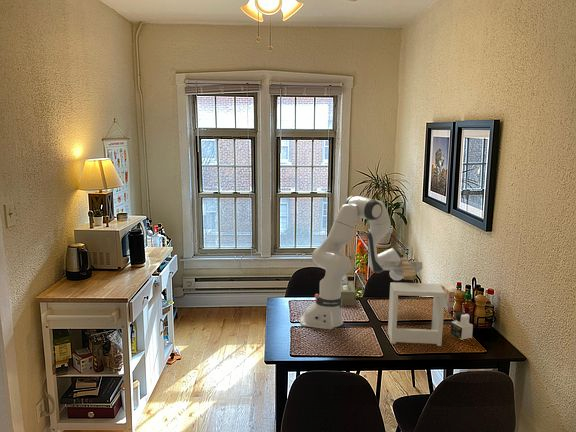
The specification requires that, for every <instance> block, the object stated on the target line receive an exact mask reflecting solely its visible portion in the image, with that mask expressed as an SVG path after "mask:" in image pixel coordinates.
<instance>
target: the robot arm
mask: <svg viewBox="0 0 576 432" xmlns="http://www.w3.org/2000/svg"><path fill="white" fill-rule="evenodd" d="M358 219H362V220H363V219H364V220H368V222H369V228H368V229H369V230H368V232H367V233H366V244H367V252H368V253H367V254H368V267H369V268H370V269H369V270H371V272H373V273H376V274H380V273H382V272H384V271H389V277H390V278H391V279H392V280H393V281H401V280H402V279H403V280H404V278H403V275H402V274H403V271H402V266H401V264H402V261H401V258H404V257H403V254H402V253H401V252H400V251H399V250H398V249H397V248H395V247H391V248H388V249H386V250H384V251H383V252H380V253H378V251H377V250H378V249H377V244H378V243H379V241H380V240H381V239H382V238H384V237H385V236H386V235H387V234H388V233H389V231H390V230H391V228H392V227H391V226H392V223H391V219H390V214H389V212H388V209H387V207H386V205H385V203H384V202H383V201H381V200H378V199H377V200H376V199H372V198H370V197H369V198H368V197H366V196H362V195H361V196H360V195H359V196H358V195H350V196H348V197H347V199H346V200H345V202H344V204H342V206H340V208H339V210H338V212H337V213H336V216H335V219H334V221H333V223H332V226H331V229H330V231H329V233H328V235H327V237H326V238H325V240H324V241H323V242H322V243H321V244H320V245H319V246H318V247H316V248H315V249H314V250H313V252H312V253H311V258H312V261H313V263H314V264H315V265H316V266H318V267H319V268H321V269H323V270H324V271H325V275H324V277H323V278H322V279H321V280H319V293H315V294H314V298H315V302H314V303H312V304H310V305H309V306H307V308H306V309H305V310H304V314H302V315H301V317H300V318H299V323H300V325H301V326H303V327H309V328H315V329H322V330H333V329H335V328H338V327H340V326H342V325H343V324H344V320H343V314H342V306H343V305H342V297H341V284H342V282H343V280H342V279H343V277H344V275H345V274H346V275H347V274H348V273H349V272H350V270H351V268H352V261H351V258H350V257H348V256H347V255H346V254H345V253H343V252H341V250H342V248H343V247H344V246H346V245H348V244H349V243H350V241H351V238H352V236H353V233H354V231H355V228H356V225H357V221H358ZM408 262H409V263H410V266H411V267H414V270H415V275H418V273H420V272H421V270H423V262H422V261H412V260H408Z"/></svg>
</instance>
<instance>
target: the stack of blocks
mask: <svg viewBox="0 0 576 432" xmlns="http://www.w3.org/2000/svg"><path fill="white" fill-rule="evenodd" d="M438 284H439V285H440V286H441V288H442V289H443V291H444V292H445V303H444V308H445V309H446V310H447V311H448V312H447V311H446V310H445V309H444V310H445V311H446V312H447V313H452V312H451V311H452V308H453V304H454V293H455V292H456V290H457V289H458V288H457V287H455V286H454V285H453V284H451V283H449V284H447V283H438Z"/></svg>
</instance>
